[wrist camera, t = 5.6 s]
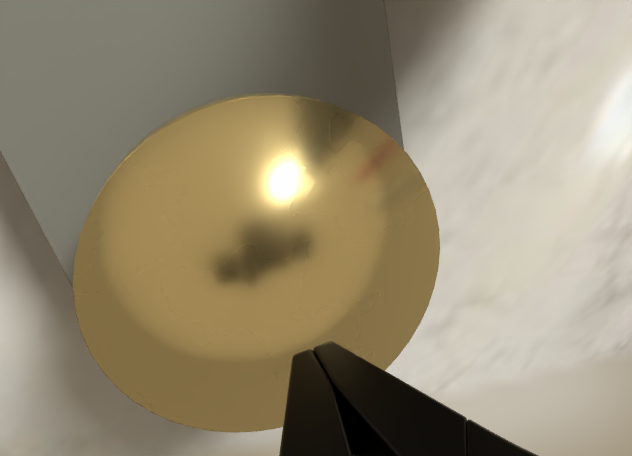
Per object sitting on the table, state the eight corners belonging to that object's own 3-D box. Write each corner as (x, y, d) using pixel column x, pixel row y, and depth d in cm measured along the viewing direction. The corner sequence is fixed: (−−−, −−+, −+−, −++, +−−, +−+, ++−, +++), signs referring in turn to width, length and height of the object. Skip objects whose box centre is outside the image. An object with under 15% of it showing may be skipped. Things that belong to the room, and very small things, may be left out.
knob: (350, 52, 15) (419, 51, 11) (391, 293, 19) (452, 358, 15) (45, 131, 13) (-12, 165, 9) (163, 379, 17) (160, 480, 13)
